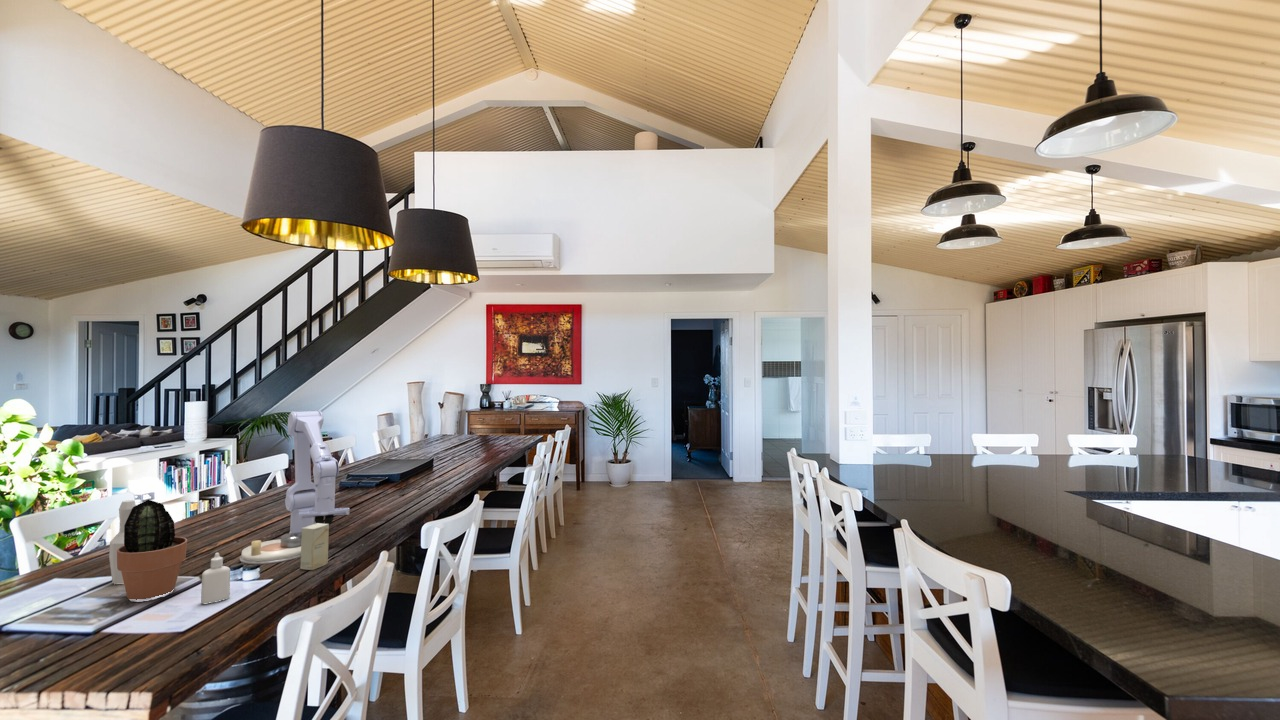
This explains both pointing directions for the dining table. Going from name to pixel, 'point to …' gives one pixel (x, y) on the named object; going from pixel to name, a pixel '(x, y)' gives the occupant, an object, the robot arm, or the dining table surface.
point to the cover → (291, 540)
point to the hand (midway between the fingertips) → (323, 538)
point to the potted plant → (150, 552)
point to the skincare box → (314, 546)
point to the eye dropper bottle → (215, 581)
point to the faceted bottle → (119, 540)
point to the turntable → (268, 551)
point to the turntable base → (268, 561)
